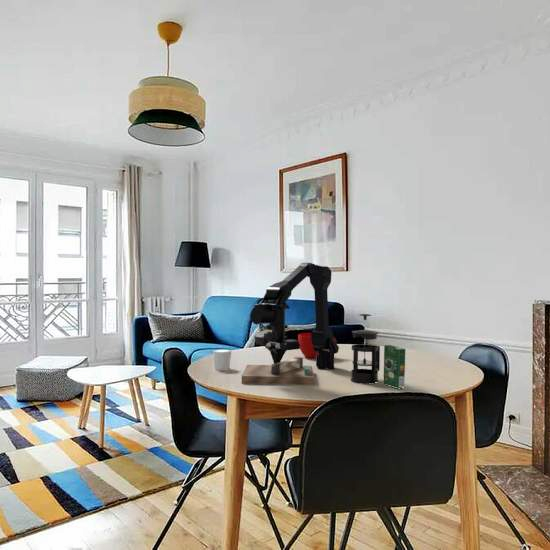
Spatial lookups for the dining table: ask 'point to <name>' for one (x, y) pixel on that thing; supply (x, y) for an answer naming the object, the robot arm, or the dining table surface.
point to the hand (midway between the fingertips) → (276, 366)
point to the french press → (364, 374)
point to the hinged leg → (287, 365)
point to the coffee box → (394, 366)
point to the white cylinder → (222, 359)
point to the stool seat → (277, 375)
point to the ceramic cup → (307, 345)
